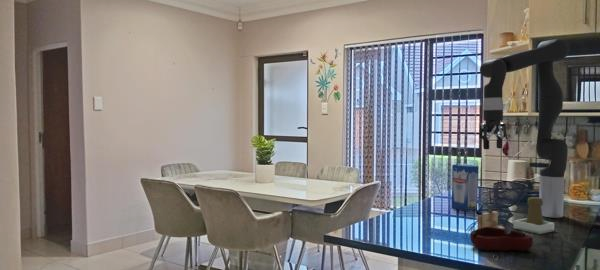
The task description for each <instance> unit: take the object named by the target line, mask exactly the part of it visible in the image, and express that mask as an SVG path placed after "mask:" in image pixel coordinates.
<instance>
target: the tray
mask: <svg viewBox="0 0 600 270" xmlns="http://www.w3.org/2000/svg"><path fill="white" fill-rule="evenodd" d="M526 222H527V217H526V218H520V219H515V220H513V225H512V226H513V230H514V229H515V230H517V231H518V230H520V231H522V232H528V233H533V234H537V235H541V234H546V233H550V232H555V222H552V221H547V220H543V225H535V224H530V223H526Z"/></svg>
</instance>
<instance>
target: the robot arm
mask: <svg viewBox="0 0 600 270" xmlns="http://www.w3.org/2000/svg"><path fill="white" fill-rule="evenodd" d="M569 52H570V46H569V44H568V42H567V41H566V40H564V39H560V38H554V39H549V40H544V41H541V42H540V43H539V44H538V46H537V48H534V49H528V50H523V51H522V50H521V51H518V52H515V53H511V54H508V55H505V56H503V57H498V58H493V59H490V60H489V59H488V60H486V61H484V62H482V64H481V65H480V66H479V67H480V68H479V72H480V74H481V76H482V77H484V78H488V79H490V80H489V82H488V83H486V84H485V85H484V86H483V104H482V107H483V108H482V120H483V121H484V122H485V123H479V136H478V137H479V139H481V140H482V141H483V145H482V146H483V149H484V150H490V138H491V137H492V136H493V135H494V136H495V137H496V148H497V149H502V148H503V140H504V138H506V137H507V124H506V122H502V121H503V120H504V101H503V87H504V84H505V80H506V76H507V73H513V72H516V71H520V70H522V69H525V68H528V67H532V66H534V65H535V66H536V65H537V71H538V72H537V75H538V125H537V137H536V146H535V148H536V155H537V156H538V158H539V159H541V160H546V161H550V162H549V165H548V166H546V167H542V168H540V170H539V190H538V191H539V193H538V195H539V196H538V198H541V199H542V201H543V204H542V206H541V210H542V217H545V218H546V217H547V218H554V219H557V218H558V219H559V218H563V217H564V202H565V198H564V197H565V194H564V193H565V191H564V190H565V188H564V187H565V173H566V170H567V164H568V163H567V161H568V152H569V150H568V144H567V142H566V141H565V140H564V139H560V138H552V130H553V127H554V124H555V122H556V121H557V119H558V118H559V116H560V114H561V112H562V111H563V104H564V103H563V102H564V101H563V100H564V95H563V89H562V87H561V85H560V83H559V82H558V79H556V77H555V73H554V67H553V66H554V62H559V61H562V60H563V59H565V58H566V57H567V56H568V54H569Z"/></svg>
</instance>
